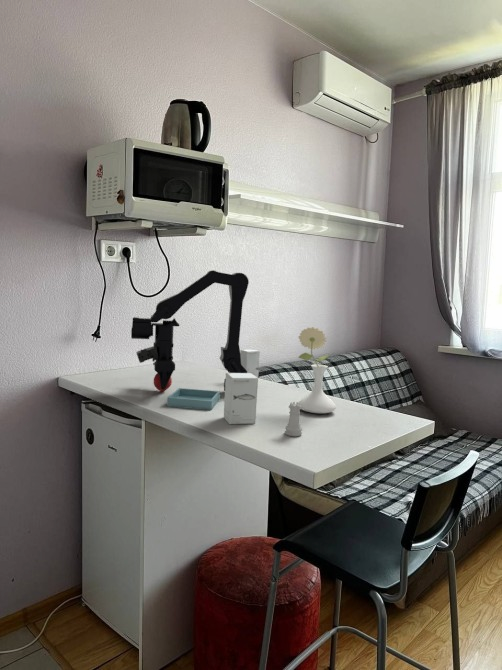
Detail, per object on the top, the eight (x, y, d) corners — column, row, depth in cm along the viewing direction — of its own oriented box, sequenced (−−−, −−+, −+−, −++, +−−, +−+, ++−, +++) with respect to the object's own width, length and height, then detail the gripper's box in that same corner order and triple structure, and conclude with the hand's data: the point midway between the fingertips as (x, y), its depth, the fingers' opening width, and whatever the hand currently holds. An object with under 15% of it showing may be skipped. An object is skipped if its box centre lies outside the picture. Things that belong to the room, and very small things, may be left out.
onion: (167, 395, 167) (168, 370, 166) (150, 393, 168) (151, 368, 167) (173, 391, 173) (174, 367, 172) (157, 389, 174) (158, 365, 173)
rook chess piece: (301, 431, 135) (303, 401, 134) (303, 437, 131) (305, 405, 130) (283, 431, 135) (285, 400, 134) (285, 436, 131) (287, 405, 130)
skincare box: (245, 384, 189) (247, 351, 187) (238, 382, 192) (239, 349, 191) (258, 383, 193) (260, 350, 191) (251, 381, 196) (252, 348, 195)
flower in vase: (341, 411, 159) (347, 328, 156) (326, 419, 149) (333, 331, 146) (302, 403, 165) (307, 324, 162) (285, 410, 155) (290, 326, 153)
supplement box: (229, 425, 138) (231, 377, 137) (223, 417, 145) (225, 372, 144) (256, 424, 140) (258, 377, 139) (248, 416, 147) (251, 372, 146)
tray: (219, 399, 165) (220, 391, 165) (211, 409, 152) (211, 401, 152) (178, 396, 167) (179, 388, 166) (167, 406, 154) (167, 397, 153)
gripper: (137, 335, 176) (136, 381, 178) (138, 343, 158) (137, 394, 160) (171, 336, 178) (169, 381, 180) (176, 344, 160) (174, 394, 162)
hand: (162, 387), depth 171 cm, fingers closed on onion, 6 cm apart
